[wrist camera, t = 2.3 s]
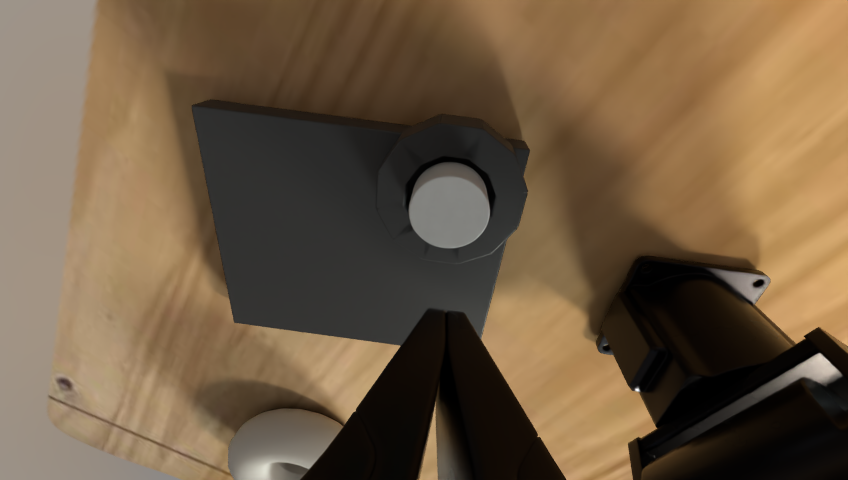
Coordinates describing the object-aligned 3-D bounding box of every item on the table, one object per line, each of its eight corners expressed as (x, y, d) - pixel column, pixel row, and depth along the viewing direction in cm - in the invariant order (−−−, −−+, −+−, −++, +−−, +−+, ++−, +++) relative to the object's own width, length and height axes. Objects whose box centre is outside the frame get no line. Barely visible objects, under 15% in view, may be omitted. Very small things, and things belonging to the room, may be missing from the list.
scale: (530, 118, 16) (545, 136, 13) (475, 338, 22) (478, 379, 20) (205, 75, 16) (157, 85, 13) (245, 307, 23) (218, 343, 20)
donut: (286, 376, 26) (218, 436, 30) (264, 422, 23) (192, 481, 27) (395, 443, 29) (320, 489, 33) (388, 491, 26) (307, 535, 30)
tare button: (493, 166, 14) (497, 181, 13) (479, 234, 16) (481, 253, 14) (416, 156, 14) (412, 170, 13) (409, 224, 16) (404, 243, 15)
